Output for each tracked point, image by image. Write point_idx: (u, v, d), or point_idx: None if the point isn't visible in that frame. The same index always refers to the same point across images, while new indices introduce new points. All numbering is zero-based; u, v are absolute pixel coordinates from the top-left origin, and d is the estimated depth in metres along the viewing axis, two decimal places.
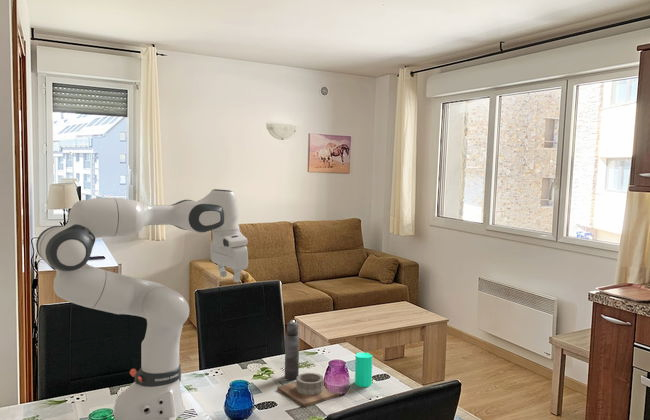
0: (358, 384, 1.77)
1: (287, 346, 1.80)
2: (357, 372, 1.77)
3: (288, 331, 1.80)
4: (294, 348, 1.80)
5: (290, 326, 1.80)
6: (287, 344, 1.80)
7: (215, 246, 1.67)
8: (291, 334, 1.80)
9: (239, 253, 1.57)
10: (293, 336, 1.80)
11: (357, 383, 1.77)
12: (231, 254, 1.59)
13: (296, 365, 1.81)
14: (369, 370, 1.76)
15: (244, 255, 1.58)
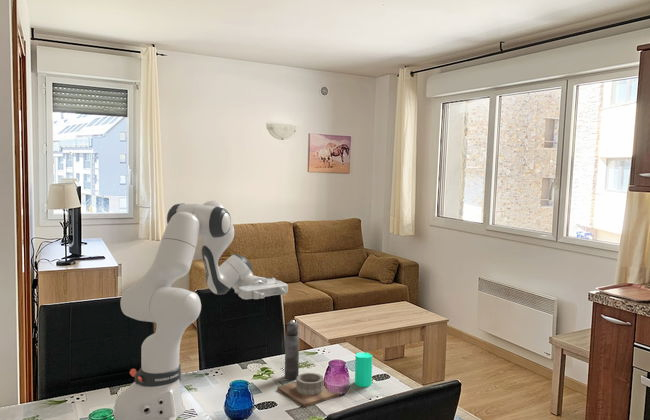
0: (358, 384, 1.77)
1: (287, 346, 1.80)
2: (357, 372, 1.77)
3: (288, 331, 1.80)
4: (294, 348, 1.80)
5: (290, 326, 1.80)
6: (287, 344, 1.80)
7: (248, 286, 1.96)
8: (291, 334, 1.80)
9: None
10: (293, 336, 1.80)
11: (357, 383, 1.77)
12: (273, 284, 2.02)
13: (296, 365, 1.81)
14: (369, 370, 1.76)
15: None
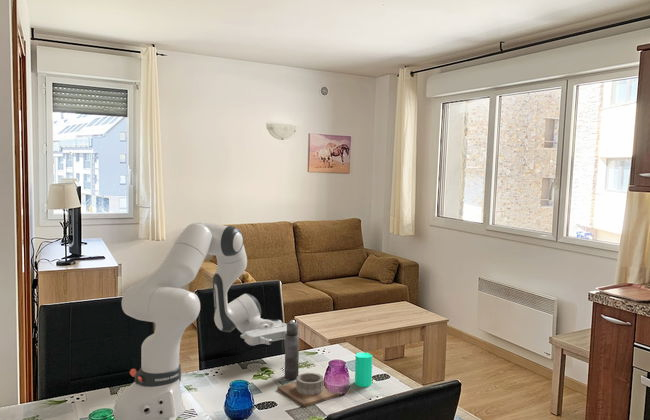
0: (358, 384, 1.77)
1: (287, 346, 1.80)
2: (357, 372, 1.77)
3: (288, 331, 1.80)
4: (294, 348, 1.80)
5: (290, 326, 1.80)
6: (287, 344, 1.80)
7: (254, 330, 1.93)
8: (291, 334, 1.80)
9: None
10: (293, 336, 1.80)
11: (357, 383, 1.77)
12: (279, 327, 1.99)
13: (296, 365, 1.81)
14: (369, 370, 1.76)
15: None
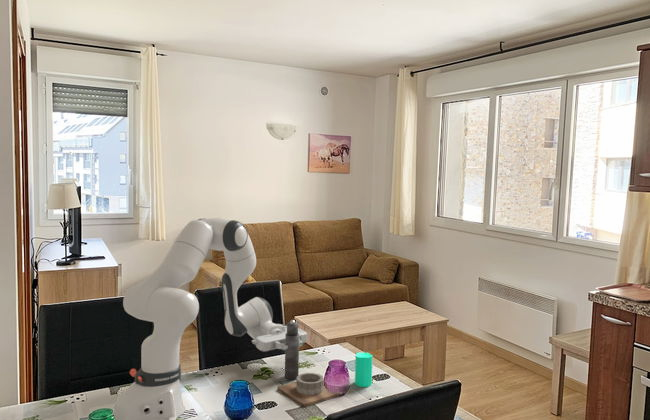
0: (358, 384, 1.77)
1: None
2: (357, 372, 1.77)
3: (288, 331, 1.80)
4: (294, 348, 1.80)
5: (290, 326, 1.80)
6: (287, 344, 1.80)
7: (266, 335, 1.87)
8: (291, 334, 1.80)
9: None
10: (293, 336, 1.80)
11: (357, 383, 1.77)
12: None
13: (296, 365, 1.81)
14: (369, 370, 1.76)
15: None
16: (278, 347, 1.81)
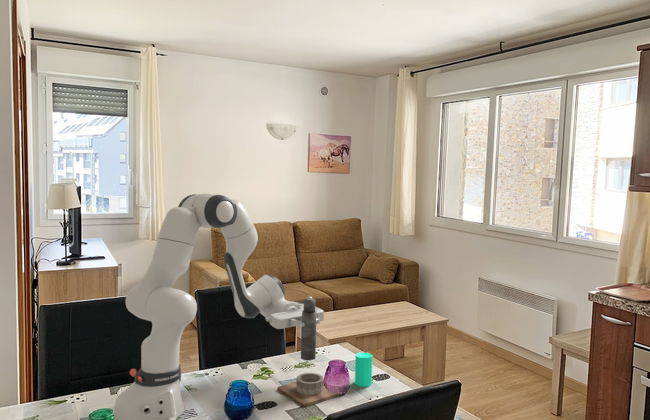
0: (358, 384, 1.77)
1: (304, 324, 1.69)
2: (357, 372, 1.77)
3: (305, 308, 1.69)
4: (311, 326, 1.68)
5: (307, 302, 1.68)
6: None
7: (280, 313, 1.75)
8: (308, 311, 1.68)
9: None
10: (310, 313, 1.68)
11: (357, 383, 1.77)
12: None
13: (313, 344, 1.69)
14: (369, 370, 1.76)
15: None
16: (294, 324, 1.69)
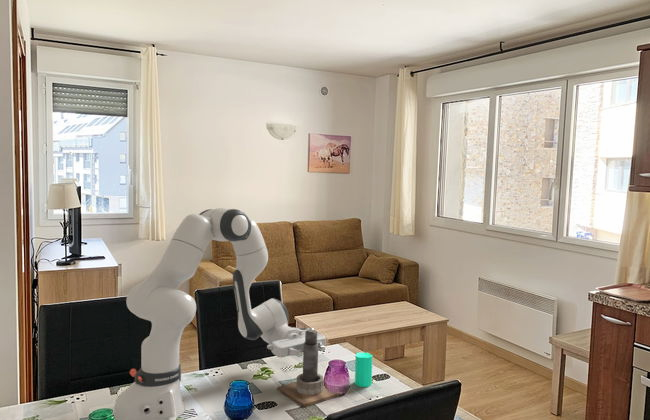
0: (358, 384, 1.77)
1: (305, 356, 1.68)
2: (357, 372, 1.77)
3: (307, 340, 1.68)
4: (313, 358, 1.68)
5: (309, 335, 1.67)
6: (305, 354, 1.68)
7: (282, 340, 1.74)
8: (310, 343, 1.67)
9: None
10: (312, 345, 1.67)
11: (357, 383, 1.77)
12: None
13: (315, 376, 1.68)
14: (369, 370, 1.76)
15: None
16: (292, 354, 1.68)
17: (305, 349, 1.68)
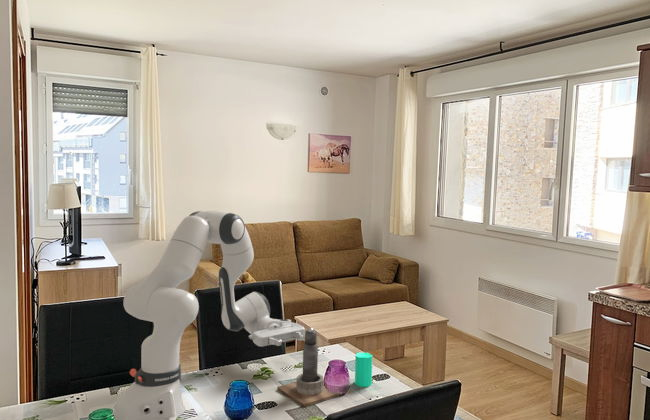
0: (358, 384, 1.77)
1: (305, 356, 1.68)
2: (357, 372, 1.77)
3: (306, 340, 1.68)
4: (313, 358, 1.68)
5: (308, 334, 1.68)
6: (305, 354, 1.68)
7: (263, 330, 1.84)
8: (309, 343, 1.68)
9: None
10: (312, 345, 1.67)
11: (357, 383, 1.77)
12: (289, 327, 1.90)
13: (314, 376, 1.69)
14: (369, 370, 1.76)
15: None
16: (272, 343, 1.78)
17: (305, 349, 1.68)
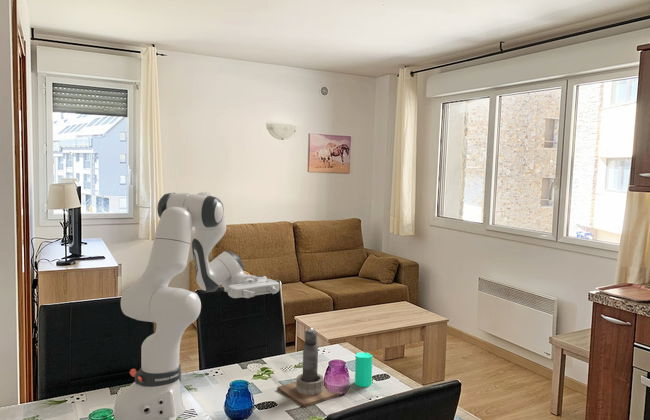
0: (358, 384, 1.77)
1: (305, 356, 1.68)
2: (357, 372, 1.77)
3: (306, 340, 1.68)
4: (313, 358, 1.67)
5: (308, 335, 1.67)
6: (305, 354, 1.68)
7: (238, 284, 1.90)
8: (310, 343, 1.67)
9: None
10: (312, 345, 1.67)
11: (357, 383, 1.77)
12: (264, 282, 1.96)
13: (315, 376, 1.68)
14: (369, 370, 1.76)
15: None
16: (245, 294, 1.84)
17: (305, 349, 1.68)
